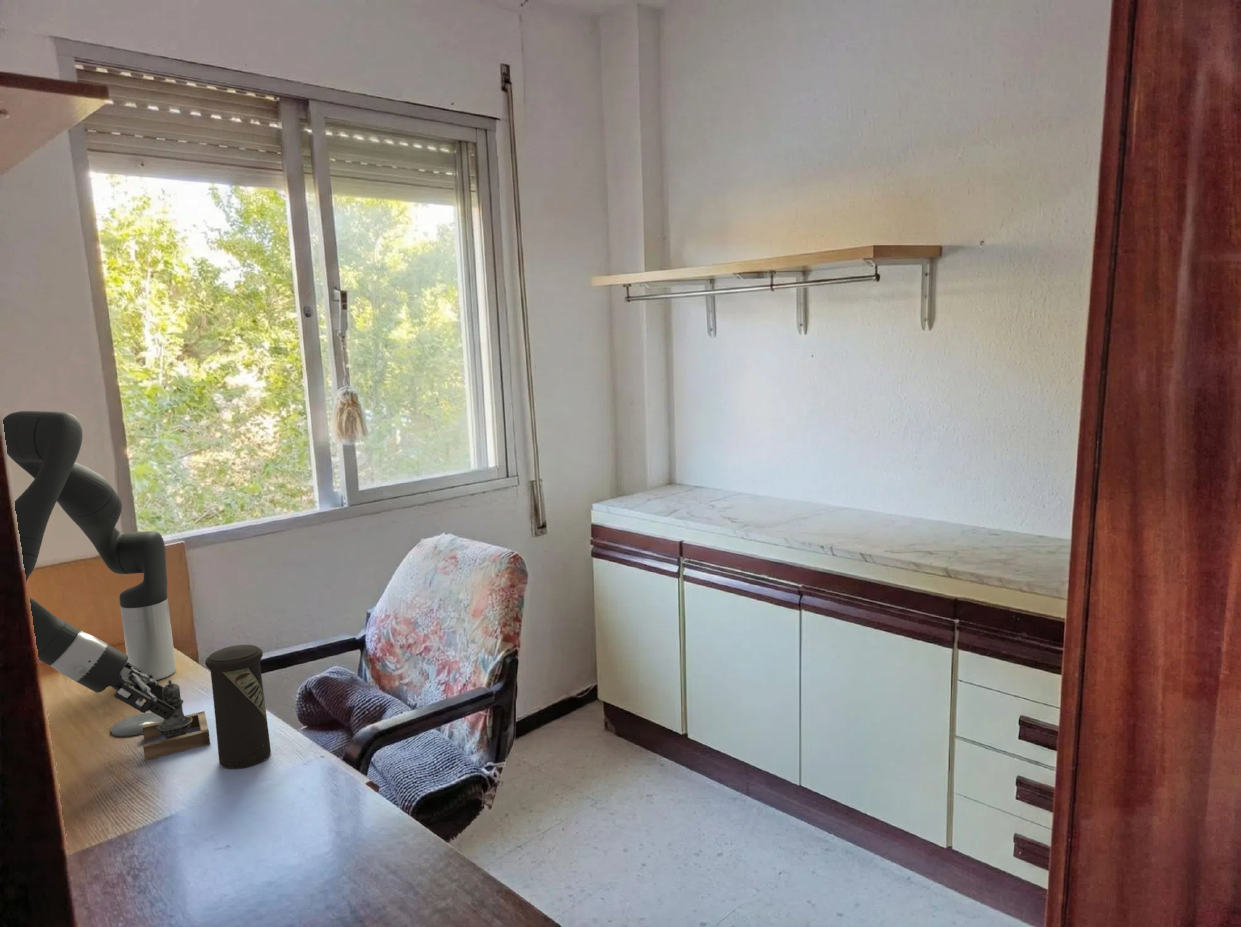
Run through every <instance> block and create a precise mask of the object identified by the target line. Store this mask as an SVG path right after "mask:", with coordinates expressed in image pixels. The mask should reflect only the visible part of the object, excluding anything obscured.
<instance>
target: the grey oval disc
mask: <svg viewBox="0 0 1241 927" xmlns="http://www.w3.org/2000/svg"><path fill="white" fill-rule="evenodd" d="M160 721H164V718H162V717H160V716H158V715H156V714H155V713H153V712H147V713H146V712H145V713H139V714H136V715H131V716H128V717H126V718H123V719H121V720H119V721H117V722H116V723H114V724H113V725H112V726H111V729H110V730H111V731H110V732H111V734H112V733H113V734H114V735H113V734H112V735H113V736H115V735H117V736H116V737H119V736H127V737H134V736H133V735H135V736H138V735H137V734H139V735H142V734H141V733H143V725H147V724H151V723H155V722H160Z"/></svg>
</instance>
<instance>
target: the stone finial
mask: <svg viewBox="0 0 1241 927" xmlns="http://www.w3.org/2000/svg"><path fill="white" fill-rule="evenodd" d="M172 682H173V681H172V680H171V679H169V680H168V682H167V685H165V686H163V689H162V696H163V702H165V703H167V704H169V705H170V706H172V707H174V708H175V713H174V714H173V715H172V716H171V717H170V718H169V719H168V720H166V719H164V721H162V722H161V723H159V724H158V725H157V727H156V728H157V730H159V733H160V734H161V737H162V738H164V739H168V738H173V737H177V736H181V735H185V734H188V732H190V730H191V729H190V727H191V722H192V720H193V719H192V718H191V717H189V716H185V714H184V710H183V704H184V700H183V699H182V698H181V696H182V695H181V689H180V685H178V684H177V683H174V682H173V683H172Z"/></svg>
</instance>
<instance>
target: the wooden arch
mask: <svg viewBox="0 0 1241 927" xmlns="http://www.w3.org/2000/svg"><path fill="white" fill-rule="evenodd" d="M184 716H189V717H191V718H192V719H193V720H192V722H191V727H190V730H193V729H197V728H199V730H198V731H194V732H189V733H187V734H185V735H181V736H177V737H173V738H168V739H166V738H164V739H161V740H157V741H153V742H148V743H145V744H142V749H143V757H144V761H148V760H153V759H157V758H161V757H166V756H169V755H173V754H176V753H180V752H184V751H188V750H192V749H196V748H201V747H204V746H208V745H210V744H211V739H210V731H209V730H210V729H209V726H208V721H207V718H206V711H205V710H203V711H199V712H194V713H192V714H187V715H185V714H184ZM161 722H162V721H160V722H155V723H151V724H147V725H143V734H142V735H143V740H144V741H147V740H152V739H157V738H160V737H162V736H161V734H160V733H159V730H157V728H156V727H157V725H158V724H159V723H161ZM156 737H157V738H156Z"/></svg>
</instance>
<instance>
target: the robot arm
mask: <svg viewBox="0 0 1241 927" xmlns="http://www.w3.org/2000/svg"><path fill="white" fill-rule="evenodd" d="M2 420H3V424H4V432H5V440H6V445H7V453H6V454H7V456H8V457H9V458H10V459H11V460H12V461H13V462H15V463H16V464H17V465H18V466H20V468H21V469H23V470H24V471H25V472H26V473H28V475H30V476H31V477H33V481H32V482H30V485H29V486H28V487H27V488H26V489H24V491H23V492H22V493H21V495H19V496H18V497H17V498H16V499H15V501H13V502H15V511H16V514H17V522H18V530H19V534H20V542H21V547H22V555H23V564H24V568H25V574H26V581H27V582H28V579H29V577H30V576H31V574H32V573H33V572H34V569H35V567H36V565H37V562H38V559H39V558H38V557H39V554H40V550H41V546H42V542H43V539H44V535H45V531H46V528H47V525H48V522H49V519H50V517H51V515H52V512H53V510H54V508H55V505H56V503H57V504H58V505H59V506H60V507H61V508H62V510H63V512H65V514H66V515H68V516H69V518H70V519H71V520H72V521H73V522H74V523H75V524H76V525H77V526H78V527H79V528H80V530H81V531H82V532H83V533H84V534H85V536H86V537H87V538H88V539H89V541H90V542H91V543H92V545H93V546H94V548H95V549H96V551H97V553H98V555H99V556H100V557H101V560H102V561H103V563H104V564H105V565H106V566H107V568H108V569H109V570H110V571H111V572H113V573H114V574H119V575H131V574H133V575H134V574H143V580H142V582H140V583H139V584H137V585H134V586H132V587H129V588H126V589H125V590H123V591H121V593H120V594H119V598H118V599H119V605H120V606H119V607H120V615H121V621H122V629H123V638H124V647H125V653H124V652H123V651H121V650H119V649H118V648H116V647H114V646H112V645H110V644H109V643H107V642H105V641H103V640H101V638H98V637H96V636H94V634H93V635H92V634H91V633H87V632H85V631H83V630H81V629H79V628H78V627H76V626H74V625H72V624H71V623H69V622H67V621H65V620H64V619H61V618H60V617H57V616H55V615H54V614H53V613H51V612H50V610H48V609H47V608H46V607H45V606H43V605H41V603H39V602H38V601H36V600H35V599H33V598H32V597H31V596H29V597H30V603H31V611H32V616H33V625H34V633H35V636H36V645H37V649H38V657H39V660H38V661H41V662H42V663H44V664H46V665H48V666H50V667H51V668H53V669H55V670H56V671H57V672H58V673H60V674H62V675H63V676H65V677H67V678H68V679H70V680H72V681H74V682H76V683H78V684H79V685H81V686H83V687H85V688H87V689H89V690H91V691H93V692H95V693H97V694H98V693H102V692H103V691H105V690H106V689H107V688H109V687H111V688H112V689H114V690H115V693H114V694H113V697H114V698H115V699H116V700H117V699H118V700H120V701H121V702H123V703H125V704H127V705H129V706H130V707H132V708H133V709H135V710H138V711H139V712H140V713H141V714H144V713H146V712H150V713H155V714H156V715H158V716H160V717H162V718H164V719H166V720H168V719H169V718H170V717H171V716H172V715H173V714H174V713H175V708H174V707H172V706H170V705H169V704H167V703H165V702H163V696H162V689H163V687H164V686H163V685H161V684H159V683H158V681H159V680H161V679H164V678H167V677H169V676H171V675H173V674H174V673H175V672H176V671H177V669H176V658H175V650H174V649H175V648H174V641H173V640H174V639H173V632H172V625H171V615H170V606H169V600H168V598H169V597H168V575H167V574H168V573H167V559H166V558H167V555H166V553H167V552H166V547H165V546H166V545H165V542H164V538H163V537H162V534H161V533H159V532H158V531H156V530H152V531H150V530H149V531H135V532H134V531H133V532H122V531H119V530H118V529H117V528H116V525H117V523H118V521H119V520H120V517H121V514H122V509H123V506H122V505H123V503H122V500H121V498H120V496H119V494H118V492H117V491H116V490H115V489H114V488H113V486H112V485H111V483H109V481H108V480H107V479H106V478H105V477H104V476H103V475H102V474H99V473H98V472H96V471H94V470H93V469H92V468H90V467H87V466H85V465H82V464H81V463H78V462H77V459H78V456H79V453H80V450H81V446H82V442H83V428H82V427H83V426H82V425H81V422H80V420H79V419H78V418H77V417H76V416H75V414H72V413H69V412H65V411H64V412H63V411H42V410H41V411H39V410H38V411H37V410H22V411H15V412H12V413H9V414H7V415H6V416H5V417H3V419H2ZM143 700H145V702H143Z"/></svg>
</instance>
